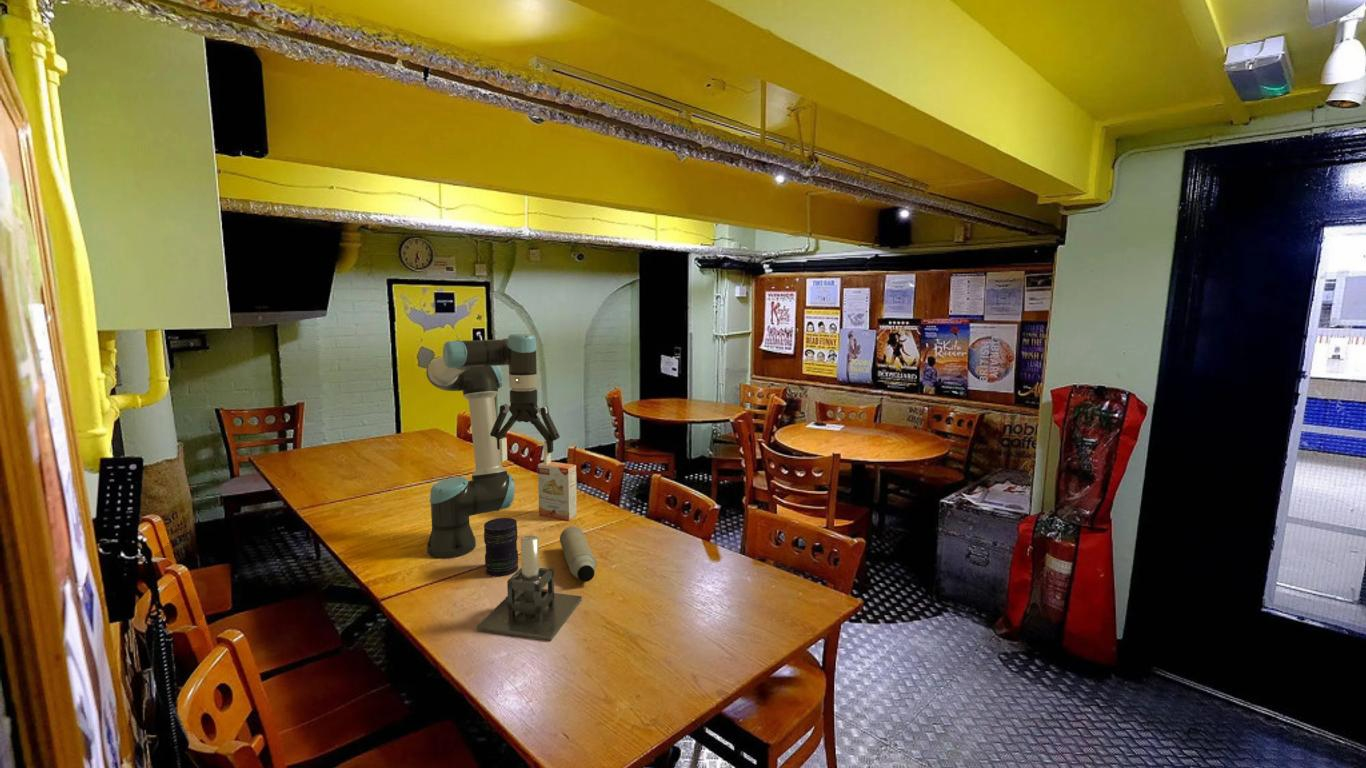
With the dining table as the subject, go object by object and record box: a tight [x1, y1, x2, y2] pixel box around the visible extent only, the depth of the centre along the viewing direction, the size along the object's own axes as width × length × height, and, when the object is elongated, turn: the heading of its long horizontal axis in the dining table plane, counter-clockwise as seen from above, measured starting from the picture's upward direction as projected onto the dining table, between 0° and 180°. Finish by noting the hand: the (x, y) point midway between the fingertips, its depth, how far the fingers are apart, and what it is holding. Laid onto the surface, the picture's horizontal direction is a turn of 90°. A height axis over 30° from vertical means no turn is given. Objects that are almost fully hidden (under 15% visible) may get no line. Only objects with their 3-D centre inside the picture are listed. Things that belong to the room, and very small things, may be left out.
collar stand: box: [476, 567, 583, 642], centre depth 151 cm, size 20×20×11 cm
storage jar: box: [483, 517, 519, 578], centre depth 177 cm, size 10×10×15 cm
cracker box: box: [537, 461, 578, 521], centre depth 221 cm, size 14×6×21 cm, turn 68°
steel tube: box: [520, 534, 540, 615], centre depth 151 cm, size 5×5×20 cm
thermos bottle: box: [559, 525, 597, 583], centre depth 180 cm, size 8×8×28 cm
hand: (525, 462), depth 164 cm, fingers open, 13 cm apart
